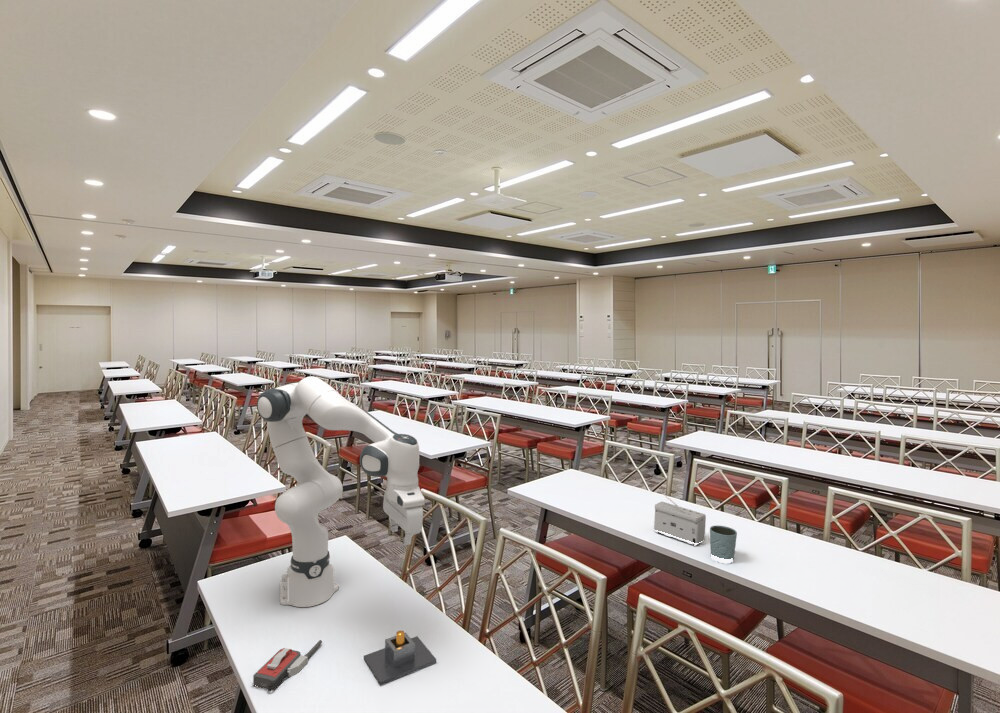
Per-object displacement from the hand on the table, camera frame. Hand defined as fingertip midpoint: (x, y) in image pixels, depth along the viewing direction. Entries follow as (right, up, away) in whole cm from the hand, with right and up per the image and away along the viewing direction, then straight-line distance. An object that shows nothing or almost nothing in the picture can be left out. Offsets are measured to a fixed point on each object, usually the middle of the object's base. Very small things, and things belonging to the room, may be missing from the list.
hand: (400, 537), depth 145 cm
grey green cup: (+119, -30, +57) cm, 135 cm away
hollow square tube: (+2, -30, -9) cm, 31 cm away
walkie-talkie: (-27, -30, -12) cm, 43 cm away
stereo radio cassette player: (+108, -28, +76) cm, 135 cm away
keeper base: (+2, -31, -9) cm, 32 cm away
